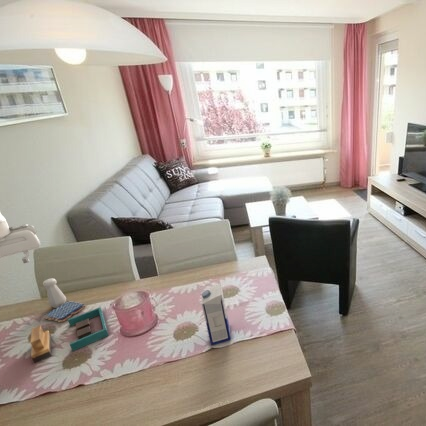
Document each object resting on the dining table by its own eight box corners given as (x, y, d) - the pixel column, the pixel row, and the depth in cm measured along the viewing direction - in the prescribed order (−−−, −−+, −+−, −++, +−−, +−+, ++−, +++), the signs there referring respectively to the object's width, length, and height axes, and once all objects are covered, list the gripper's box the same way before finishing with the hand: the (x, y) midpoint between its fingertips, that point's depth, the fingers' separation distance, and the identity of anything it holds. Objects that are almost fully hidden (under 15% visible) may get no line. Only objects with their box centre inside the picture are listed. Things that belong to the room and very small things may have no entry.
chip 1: (78, 333, 112) (76, 328, 111) (77, 328, 115) (75, 323, 114) (91, 328, 114) (89, 323, 113) (90, 323, 117) (88, 318, 116)
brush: (34, 362, 100) (26, 346, 97) (35, 343, 108) (28, 327, 106) (51, 355, 102) (43, 339, 100) (51, 336, 111) (44, 321, 108)
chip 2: (79, 342, 108) (77, 336, 107) (78, 336, 111) (76, 330, 110) (92, 336, 110) (90, 331, 109) (91, 330, 113) (89, 325, 112)
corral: (72, 351, 104) (69, 344, 103) (70, 325, 116) (67, 319, 115) (108, 335, 110) (106, 329, 109) (102, 312, 123) (100, 306, 122)
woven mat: (69, 303, 130) (68, 299, 129) (87, 306, 127) (85, 303, 126) (43, 319, 120) (41, 315, 120) (62, 323, 118) (60, 319, 117)
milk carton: (230, 340, 105) (221, 294, 98) (211, 345, 103) (200, 299, 96) (229, 326, 112) (220, 282, 104) (210, 331, 110) (200, 287, 102)
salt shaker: (47, 308, 127) (35, 283, 122) (60, 300, 132) (49, 276, 127) (58, 310, 126) (47, 284, 121) (71, 301, 131) (60, 276, 126)
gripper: (32, 220, 107) (47, 253, 112) (-52, 238, 95) (-32, 274, 100) (32, 225, 102) (47, 259, 107) (-57, 244, 90) (-36, 282, 95)
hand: (8, 267), depth 103 cm, fingers open, 8 cm apart
